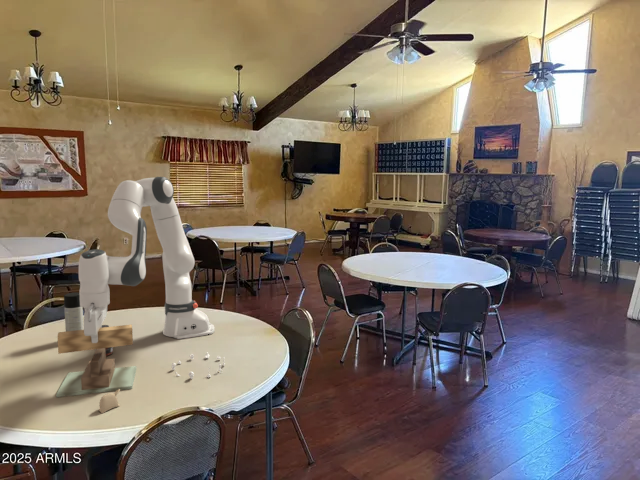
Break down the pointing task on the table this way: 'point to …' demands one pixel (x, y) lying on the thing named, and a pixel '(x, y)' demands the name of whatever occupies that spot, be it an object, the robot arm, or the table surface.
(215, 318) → the table surface
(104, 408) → the decorative ornament
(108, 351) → the supplement bottle
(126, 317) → the table surface
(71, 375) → the ridge stand
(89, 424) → the table surface
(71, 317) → the spray can
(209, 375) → the game piece set
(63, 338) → the oak slat
